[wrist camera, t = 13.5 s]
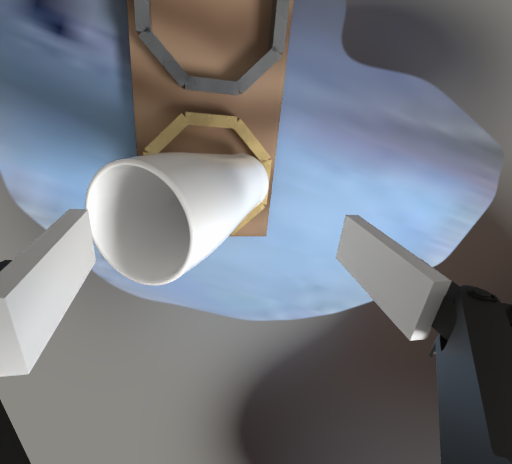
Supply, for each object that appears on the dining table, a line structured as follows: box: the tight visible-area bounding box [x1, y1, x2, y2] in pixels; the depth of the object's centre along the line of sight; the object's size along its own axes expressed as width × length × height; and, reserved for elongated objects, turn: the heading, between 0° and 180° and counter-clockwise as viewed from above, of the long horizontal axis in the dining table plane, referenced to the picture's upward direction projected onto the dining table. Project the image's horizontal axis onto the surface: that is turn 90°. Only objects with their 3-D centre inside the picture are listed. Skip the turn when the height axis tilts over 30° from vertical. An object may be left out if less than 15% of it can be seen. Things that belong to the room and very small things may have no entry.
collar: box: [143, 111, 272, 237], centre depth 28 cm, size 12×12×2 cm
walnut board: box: [127, 0, 294, 236], centre depth 26 cm, size 26×13×1 cm, turn 175°
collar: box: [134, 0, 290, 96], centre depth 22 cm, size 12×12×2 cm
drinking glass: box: [85, 152, 269, 285], centre depth 21 cm, size 7×7×15 cm
